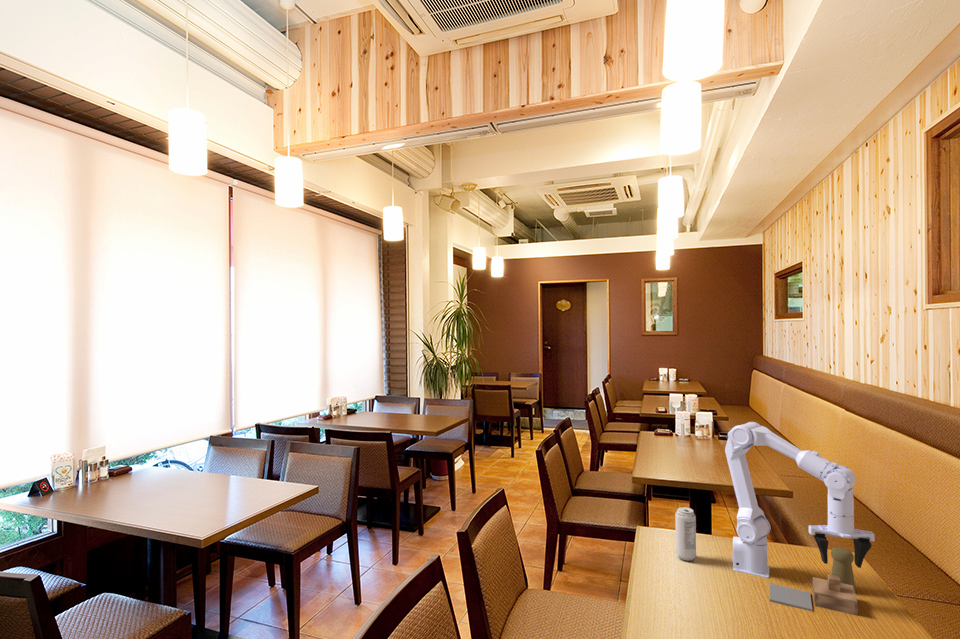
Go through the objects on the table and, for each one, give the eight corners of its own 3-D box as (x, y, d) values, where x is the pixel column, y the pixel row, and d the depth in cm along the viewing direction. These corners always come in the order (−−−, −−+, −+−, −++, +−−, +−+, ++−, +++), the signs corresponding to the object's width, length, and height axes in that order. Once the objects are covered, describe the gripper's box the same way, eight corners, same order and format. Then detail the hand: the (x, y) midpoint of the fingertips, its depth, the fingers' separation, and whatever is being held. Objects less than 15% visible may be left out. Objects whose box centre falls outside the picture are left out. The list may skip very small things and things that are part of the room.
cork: (861, 595, 135) (860, 554, 135) (836, 592, 136) (835, 552, 136) (849, 583, 141) (848, 545, 141) (825, 581, 142) (824, 543, 142)
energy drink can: (687, 551, 161) (687, 505, 161) (700, 559, 155) (699, 512, 156) (671, 553, 160) (671, 507, 160) (684, 562, 154) (683, 514, 154)
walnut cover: (815, 606, 130) (814, 580, 130) (812, 590, 137) (812, 566, 137) (857, 616, 125) (857, 589, 125) (852, 599, 133) (852, 574, 133)
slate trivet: (769, 601, 132) (769, 599, 132) (770, 584, 140) (770, 583, 140) (812, 611, 127) (812, 609, 127) (810, 594, 135) (810, 592, 135)
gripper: (814, 515, 131) (815, 567, 130) (879, 521, 126) (880, 575, 126) (805, 506, 137) (806, 555, 137) (867, 511, 133) (867, 562, 133)
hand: (841, 563), depth 132 cm, fingers open, 7 cm apart
